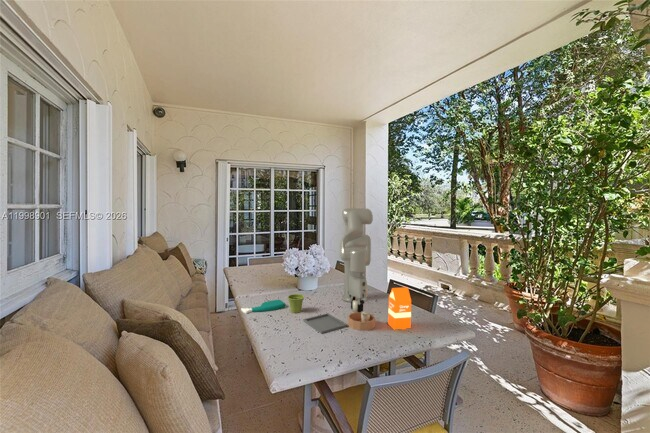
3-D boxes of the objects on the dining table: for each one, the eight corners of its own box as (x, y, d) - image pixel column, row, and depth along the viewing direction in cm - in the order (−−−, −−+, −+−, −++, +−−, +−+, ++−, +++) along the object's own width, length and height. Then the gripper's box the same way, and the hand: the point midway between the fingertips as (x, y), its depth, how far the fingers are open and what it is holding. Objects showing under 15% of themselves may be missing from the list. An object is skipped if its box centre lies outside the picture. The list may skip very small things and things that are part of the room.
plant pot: (301, 315, 162) (301, 299, 161) (285, 313, 164) (285, 298, 163) (305, 309, 171) (306, 294, 170) (290, 308, 173) (290, 293, 172)
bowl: (362, 318, 158) (362, 310, 158) (380, 327, 147) (380, 318, 147) (342, 323, 151) (342, 315, 150) (359, 333, 139) (359, 324, 139)
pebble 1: (357, 308, 149) (357, 299, 149) (363, 311, 146) (363, 301, 146) (350, 310, 147) (350, 300, 147) (356, 313, 143) (356, 303, 143)
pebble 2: (365, 320, 153) (365, 311, 153) (371, 323, 150) (371, 313, 150) (359, 322, 151) (359, 312, 151) (365, 325, 147) (365, 315, 147)
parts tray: (327, 315, 161) (327, 313, 161) (347, 327, 146) (347, 324, 146) (303, 322, 152) (303, 319, 152) (321, 334, 138) (321, 331, 138)
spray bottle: (286, 308, 173) (245, 317, 160) (279, 303, 182) (240, 310, 170) (286, 303, 172) (245, 311, 160) (279, 298, 182) (240, 305, 169)
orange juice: (387, 323, 151) (388, 285, 150) (403, 322, 153) (404, 285, 152) (394, 330, 144) (395, 290, 143) (410, 328, 146) (411, 289, 145)
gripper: (374, 276, 141) (374, 314, 141) (352, 270, 155) (352, 304, 155) (363, 278, 137) (362, 317, 137) (341, 271, 151) (340, 306, 151)
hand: (357, 309), depth 146 cm, fingers closed on pebble 1, 4 cm apart
